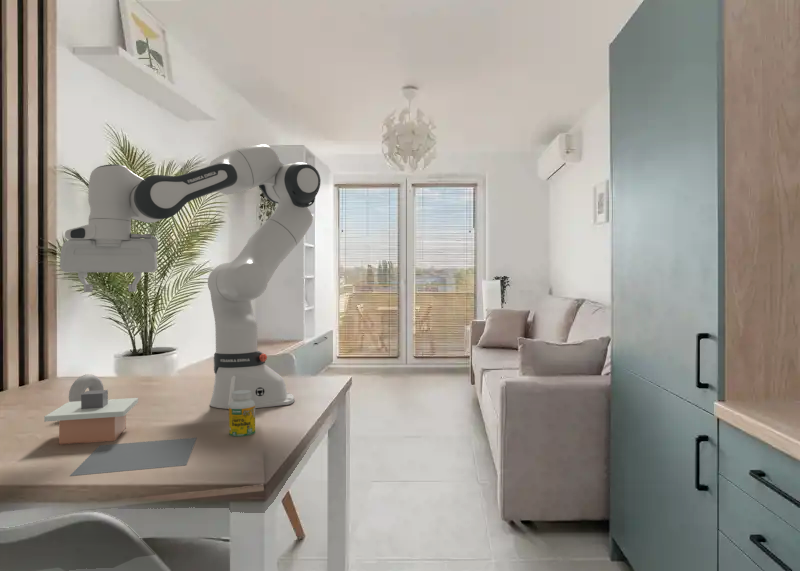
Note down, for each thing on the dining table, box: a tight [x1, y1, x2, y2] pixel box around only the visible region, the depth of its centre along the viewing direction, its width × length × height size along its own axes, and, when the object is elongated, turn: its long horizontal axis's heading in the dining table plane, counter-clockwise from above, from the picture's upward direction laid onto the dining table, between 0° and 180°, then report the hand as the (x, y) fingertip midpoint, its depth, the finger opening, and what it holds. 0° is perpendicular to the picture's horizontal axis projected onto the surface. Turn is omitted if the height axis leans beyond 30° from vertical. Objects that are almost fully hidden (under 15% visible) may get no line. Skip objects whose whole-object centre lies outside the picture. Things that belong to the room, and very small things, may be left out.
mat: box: [69, 437, 198, 477], centre depth 99 cm, size 18×18×1 cm
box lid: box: [43, 389, 139, 423], centre depth 112 cm, size 14×14×4 cm
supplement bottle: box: [228, 390, 256, 437], centre depth 113 cm, size 5×5×10 cm
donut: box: [68, 373, 105, 402], centre depth 137 cm, size 10×3×10 cm, turn 168°
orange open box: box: [58, 414, 127, 446], centre depth 112 cm, size 10×10×6 cm
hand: (110, 291), depth 126 cm, fingers open, 8 cm apart
